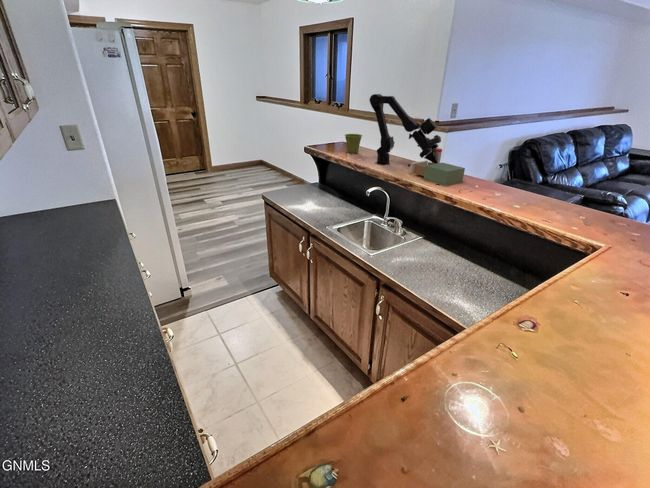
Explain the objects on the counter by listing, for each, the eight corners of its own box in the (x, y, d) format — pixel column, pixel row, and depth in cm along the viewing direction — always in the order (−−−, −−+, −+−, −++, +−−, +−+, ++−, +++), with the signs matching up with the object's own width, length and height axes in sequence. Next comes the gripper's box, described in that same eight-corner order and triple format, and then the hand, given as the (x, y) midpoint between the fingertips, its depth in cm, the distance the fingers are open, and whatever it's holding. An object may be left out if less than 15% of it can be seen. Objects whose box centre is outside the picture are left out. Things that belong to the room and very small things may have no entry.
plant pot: (342, 150, 241) (343, 133, 236) (359, 150, 242) (360, 133, 237) (345, 154, 230) (346, 136, 225) (362, 154, 232) (364, 136, 227)
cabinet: (423, 179, 179) (425, 165, 176) (440, 175, 186) (442, 162, 183) (445, 185, 169) (447, 171, 166) (462, 182, 176) (465, 168, 173)
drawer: (403, 171, 189) (404, 161, 187) (418, 168, 196) (420, 159, 193) (427, 178, 177) (429, 168, 175) (443, 175, 183) (445, 165, 181)
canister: (429, 171, 194) (433, 149, 189) (430, 169, 198) (433, 147, 193) (438, 172, 193) (442, 150, 188) (438, 170, 197) (442, 148, 192)
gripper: (428, 132, 181) (446, 156, 181) (437, 128, 195) (454, 150, 195) (412, 146, 188) (429, 169, 188) (421, 141, 202) (437, 162, 202)
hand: (438, 162), depth 193 cm, fingers open, 5 cm apart
